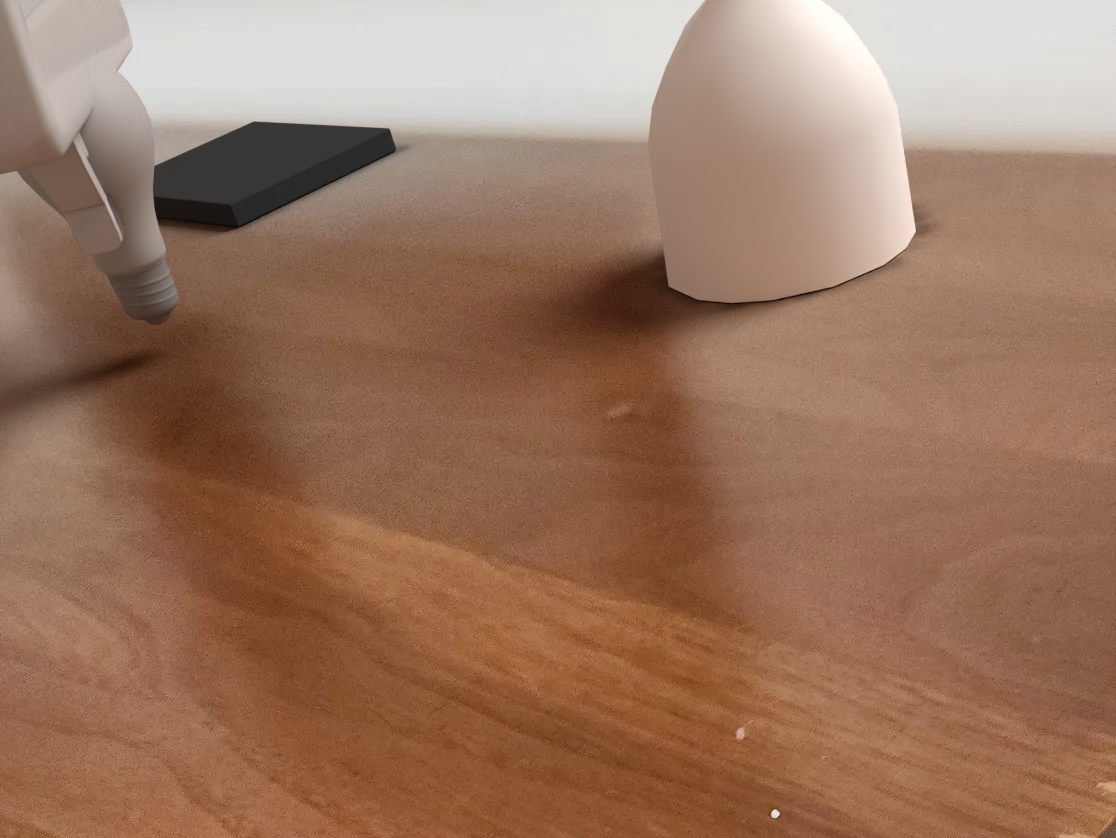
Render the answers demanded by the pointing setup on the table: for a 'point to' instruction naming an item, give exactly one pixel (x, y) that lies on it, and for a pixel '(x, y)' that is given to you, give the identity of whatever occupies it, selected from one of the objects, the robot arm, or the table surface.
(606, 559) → the table surface
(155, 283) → the lightbulb
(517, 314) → the table surface
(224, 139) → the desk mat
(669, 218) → the teardrop
